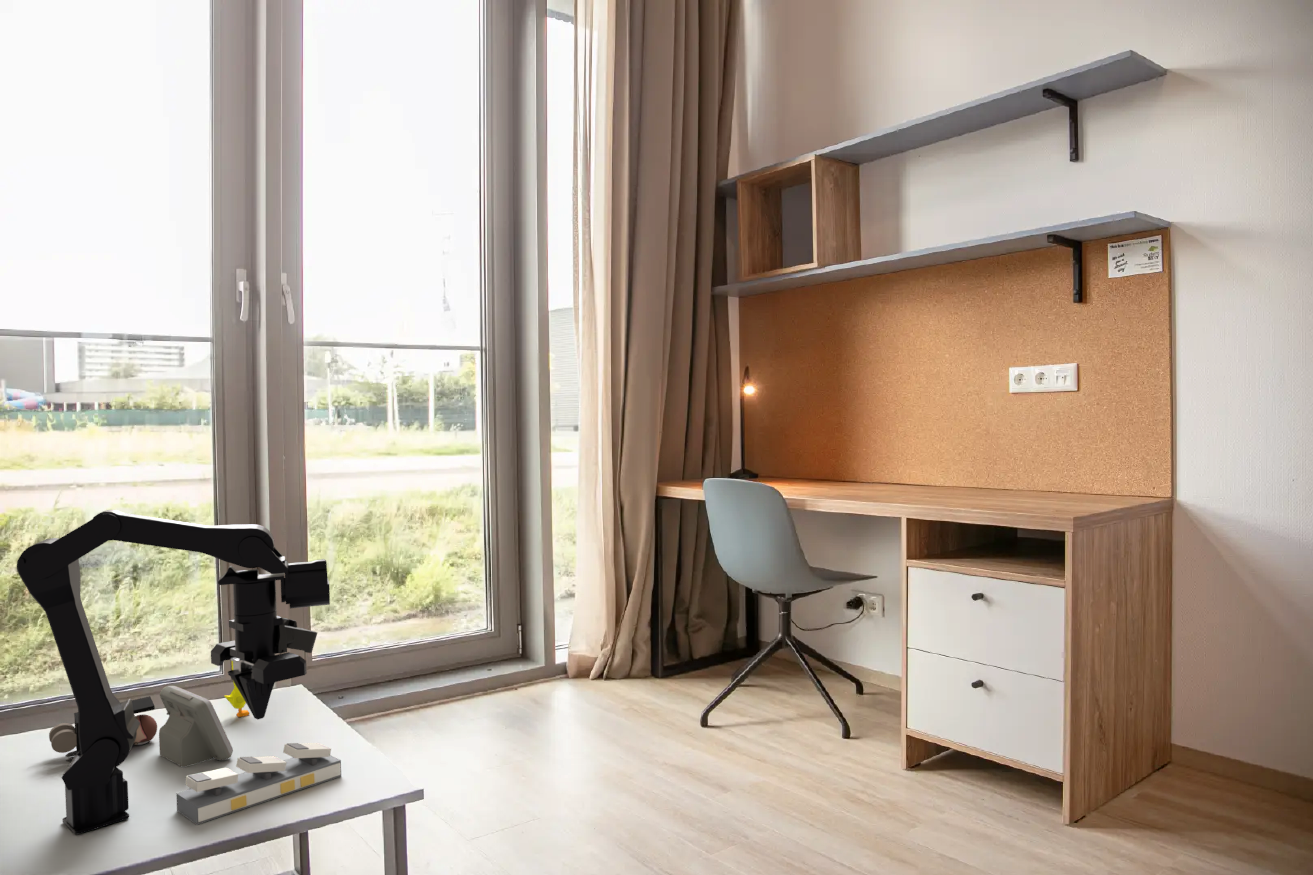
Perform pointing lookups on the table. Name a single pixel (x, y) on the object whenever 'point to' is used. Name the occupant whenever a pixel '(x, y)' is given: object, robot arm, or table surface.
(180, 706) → the digital clock
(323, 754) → the rocker far
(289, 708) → the table surface
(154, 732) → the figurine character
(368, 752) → the table surface
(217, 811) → the switch unit
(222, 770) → the rocker near
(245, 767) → the rocker middle
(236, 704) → the toy figure
